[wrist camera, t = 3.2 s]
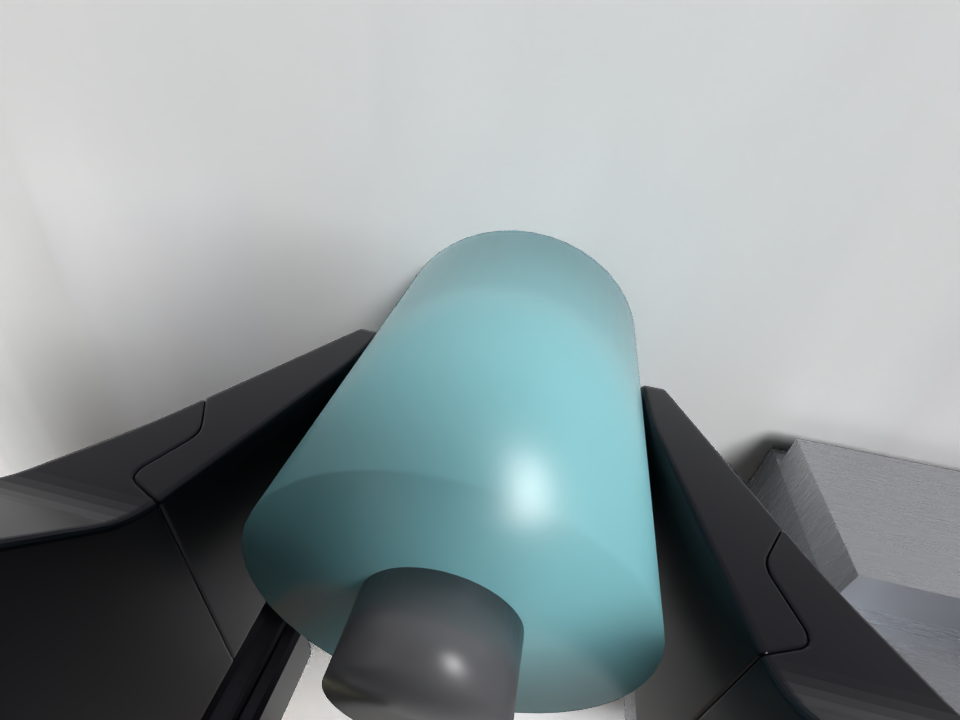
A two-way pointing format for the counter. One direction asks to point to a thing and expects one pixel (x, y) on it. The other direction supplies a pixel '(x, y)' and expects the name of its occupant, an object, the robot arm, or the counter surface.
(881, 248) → the counter surface
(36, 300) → the counter surface
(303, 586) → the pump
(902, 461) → the square aluminium tube flange
